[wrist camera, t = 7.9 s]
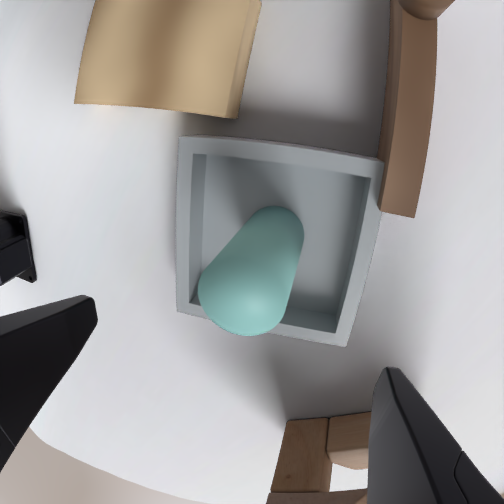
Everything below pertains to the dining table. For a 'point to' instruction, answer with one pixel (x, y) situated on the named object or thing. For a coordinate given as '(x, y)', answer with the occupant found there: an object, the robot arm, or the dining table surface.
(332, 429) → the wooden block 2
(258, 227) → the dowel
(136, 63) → the board
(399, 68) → the rail
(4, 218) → the robot arm
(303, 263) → the tray
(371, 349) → the dining table surface
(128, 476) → the dining table surface
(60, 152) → the dining table surface
